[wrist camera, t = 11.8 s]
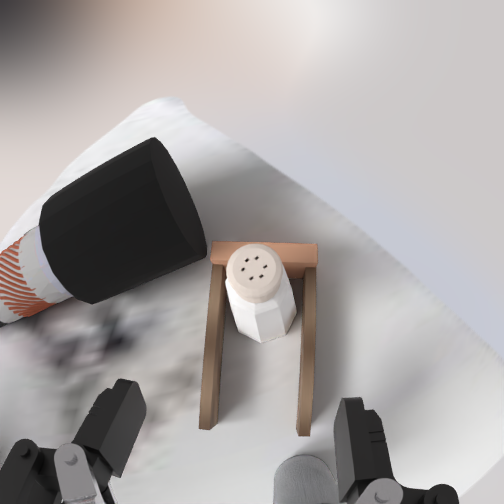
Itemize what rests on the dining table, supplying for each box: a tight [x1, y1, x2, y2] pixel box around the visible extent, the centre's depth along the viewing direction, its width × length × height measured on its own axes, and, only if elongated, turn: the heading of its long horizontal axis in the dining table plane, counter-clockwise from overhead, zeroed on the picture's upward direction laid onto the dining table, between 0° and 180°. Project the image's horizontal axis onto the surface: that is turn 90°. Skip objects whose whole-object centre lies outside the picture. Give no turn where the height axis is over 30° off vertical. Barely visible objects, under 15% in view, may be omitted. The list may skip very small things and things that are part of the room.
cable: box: [0, 137, 207, 327], centre depth 24 cm, size 10×34×10 cm, turn 108°
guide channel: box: [199, 241, 318, 436], centre depth 22 cm, size 14×8×4 cm, turn 176°
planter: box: [273, 455, 347, 504], centre depth 15 cm, size 4×4×10 cm
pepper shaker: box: [225, 243, 297, 343], centre depth 20 cm, size 5×5×11 cm
